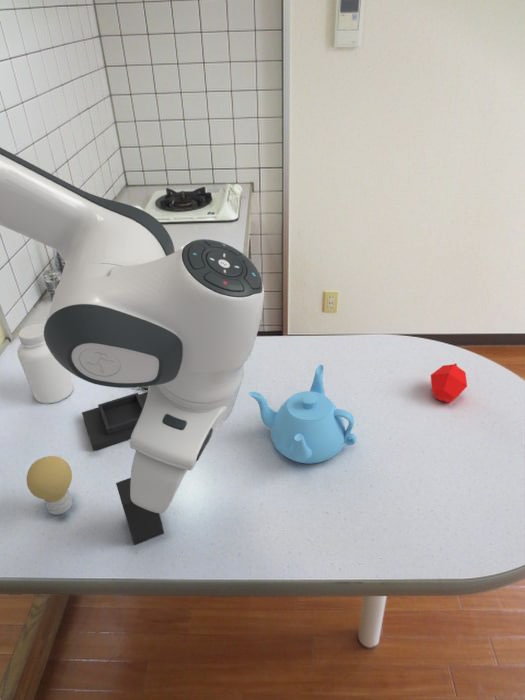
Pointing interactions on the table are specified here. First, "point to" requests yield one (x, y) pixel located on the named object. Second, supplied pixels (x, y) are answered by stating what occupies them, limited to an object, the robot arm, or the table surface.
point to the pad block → (138, 516)
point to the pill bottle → (42, 367)
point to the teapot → (307, 424)
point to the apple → (448, 382)
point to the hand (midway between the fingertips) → (177, 458)
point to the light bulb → (51, 483)
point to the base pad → (113, 420)
